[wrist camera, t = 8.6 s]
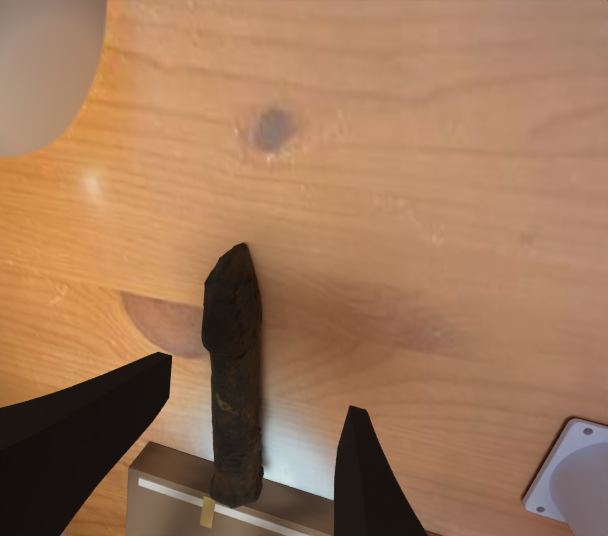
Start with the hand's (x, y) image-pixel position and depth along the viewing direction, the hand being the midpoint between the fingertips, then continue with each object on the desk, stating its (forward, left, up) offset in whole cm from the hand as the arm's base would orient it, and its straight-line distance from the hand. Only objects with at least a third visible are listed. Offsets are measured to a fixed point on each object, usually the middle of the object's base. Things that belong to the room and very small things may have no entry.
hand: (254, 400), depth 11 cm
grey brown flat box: (-3, +20, -9) cm, 22 cm away
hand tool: (+3, +6, -10) cm, 12 cm away
